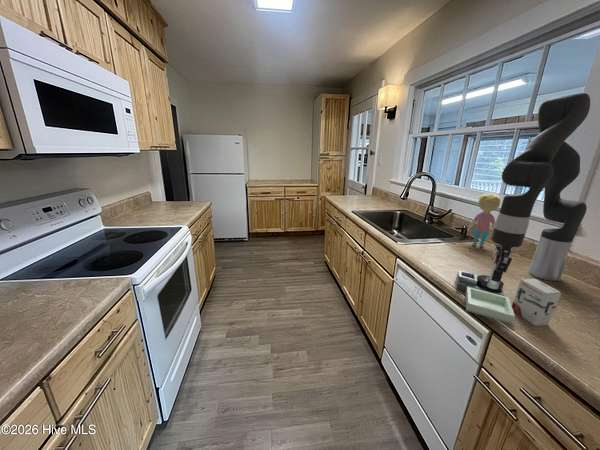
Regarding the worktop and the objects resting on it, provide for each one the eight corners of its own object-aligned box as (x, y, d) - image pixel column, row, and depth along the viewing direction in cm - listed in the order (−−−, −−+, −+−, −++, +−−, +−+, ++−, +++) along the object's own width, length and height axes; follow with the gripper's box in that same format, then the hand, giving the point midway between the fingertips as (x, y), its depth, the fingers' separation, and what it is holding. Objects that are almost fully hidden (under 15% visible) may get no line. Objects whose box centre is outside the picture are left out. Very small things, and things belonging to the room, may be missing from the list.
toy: (492, 247, 135) (507, 194, 126) (492, 252, 128) (508, 196, 119) (464, 241, 143) (476, 191, 134) (462, 246, 136) (475, 193, 127)
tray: (506, 304, 84) (508, 297, 84) (512, 324, 75) (515, 316, 74) (465, 293, 90) (467, 286, 90) (466, 310, 81) (468, 303, 80)
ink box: (509, 308, 82) (519, 278, 79) (522, 308, 83) (533, 277, 79) (535, 326, 74) (547, 293, 71) (549, 325, 75) (562, 292, 71)
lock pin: (497, 285, 81) (506, 258, 78) (499, 290, 78) (508, 262, 75) (485, 282, 82) (493, 256, 79) (486, 287, 80) (494, 259, 77)
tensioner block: (498, 289, 94) (502, 276, 92) (502, 302, 86) (506, 288, 84) (456, 278, 101) (459, 266, 99) (455, 289, 93) (459, 277, 91)
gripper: (531, 237, 66) (513, 292, 72) (521, 225, 78) (505, 273, 83) (497, 232, 70) (482, 284, 75) (492, 221, 82) (479, 267, 87)
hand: (494, 278), depth 79 cm, fingers closed on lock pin, 3 cm apart
